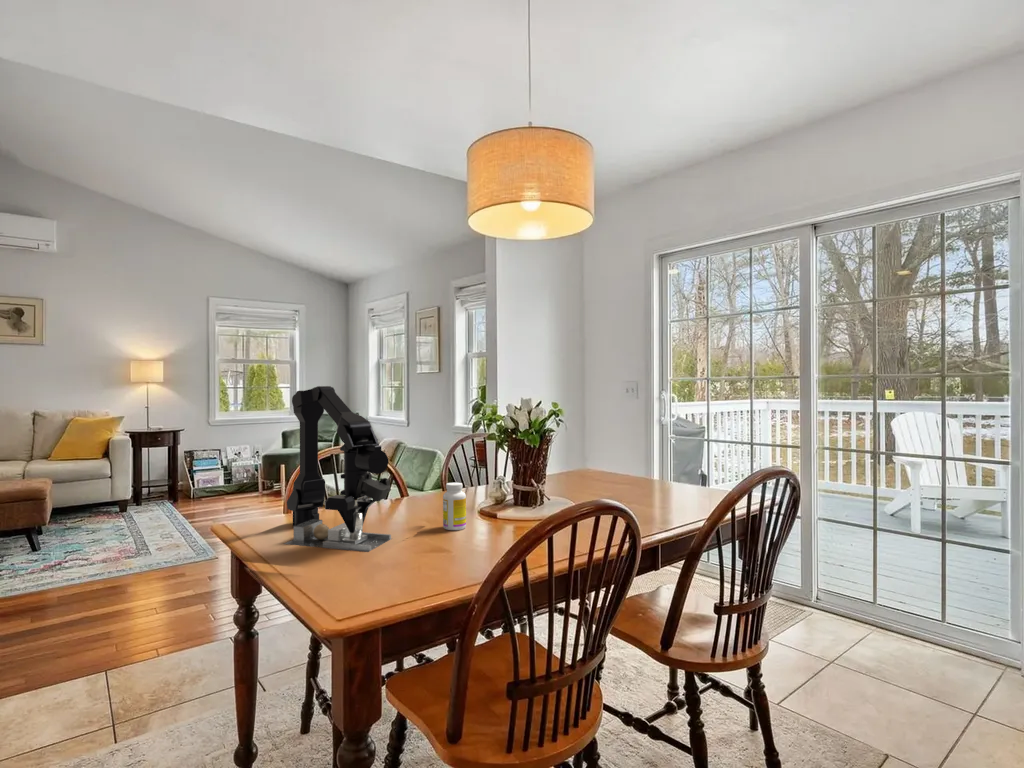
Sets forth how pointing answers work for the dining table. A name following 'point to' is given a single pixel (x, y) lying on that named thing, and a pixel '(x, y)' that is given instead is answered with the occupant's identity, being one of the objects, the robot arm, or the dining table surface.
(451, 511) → the supplement bottle
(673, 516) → the dining table surface
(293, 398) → the robot arm
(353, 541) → the ram
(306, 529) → the press base
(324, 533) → the tan ball
